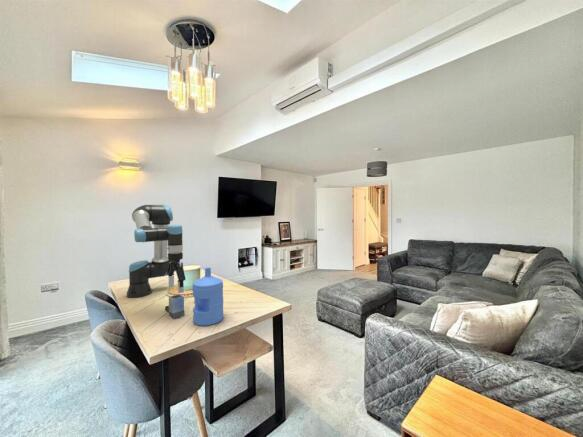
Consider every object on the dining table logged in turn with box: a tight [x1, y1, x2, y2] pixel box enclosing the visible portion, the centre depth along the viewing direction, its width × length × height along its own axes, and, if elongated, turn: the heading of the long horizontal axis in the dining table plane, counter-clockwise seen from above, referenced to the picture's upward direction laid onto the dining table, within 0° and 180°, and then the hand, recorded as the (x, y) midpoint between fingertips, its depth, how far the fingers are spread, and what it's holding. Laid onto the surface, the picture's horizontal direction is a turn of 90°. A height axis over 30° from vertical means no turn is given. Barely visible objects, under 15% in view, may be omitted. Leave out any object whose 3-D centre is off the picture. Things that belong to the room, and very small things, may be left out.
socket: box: [168, 293, 185, 314], centre depth 136 cm, size 6×6×8 cm
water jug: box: [192, 267, 225, 327], centre depth 131 cm, size 16×16×28 cm
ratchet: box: [164, 304, 186, 320], centre depth 140 cm, size 17×6×8 cm, turn 46°
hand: (176, 289), depth 137 cm, fingers open, 13 cm apart
